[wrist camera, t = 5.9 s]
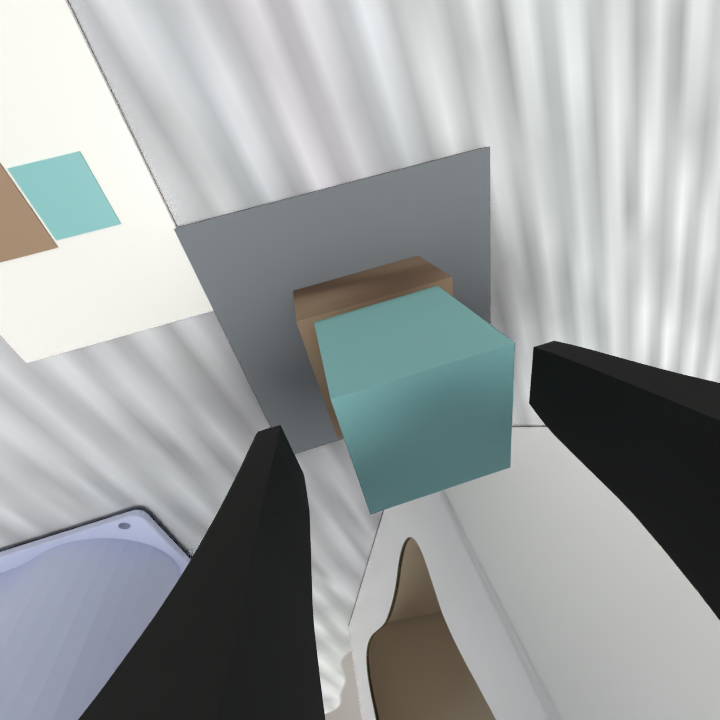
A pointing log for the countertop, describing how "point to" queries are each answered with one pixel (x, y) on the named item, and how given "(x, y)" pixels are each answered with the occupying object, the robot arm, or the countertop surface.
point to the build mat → (335, 267)
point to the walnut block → (358, 303)
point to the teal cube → (419, 394)
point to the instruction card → (76, 199)
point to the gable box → (529, 605)
